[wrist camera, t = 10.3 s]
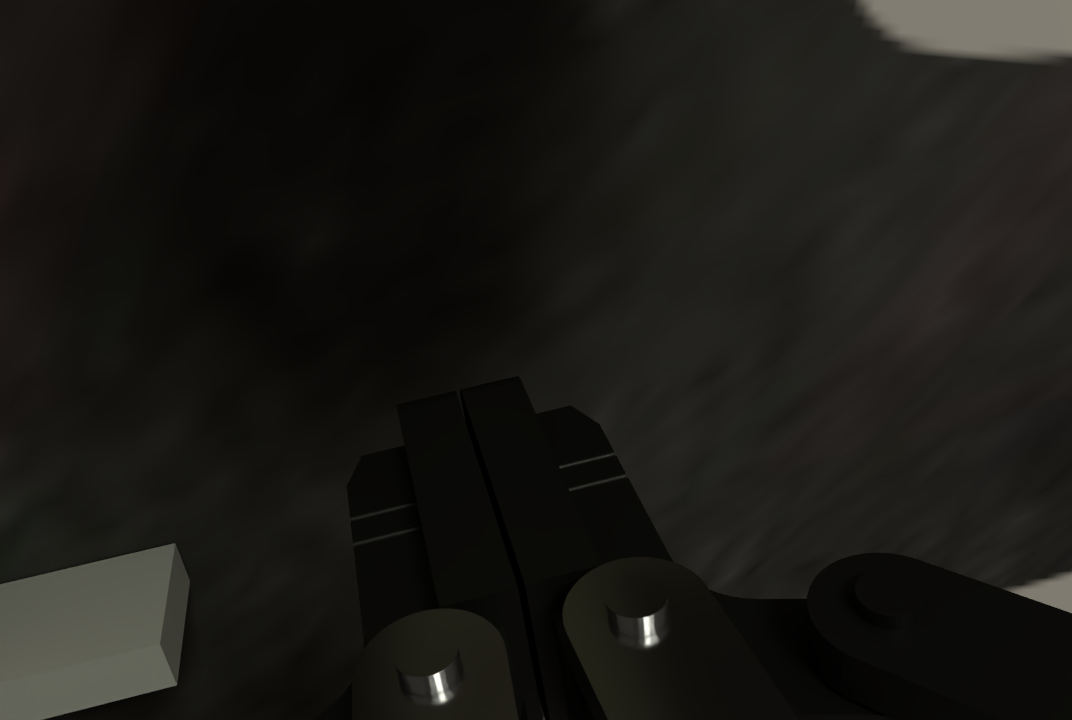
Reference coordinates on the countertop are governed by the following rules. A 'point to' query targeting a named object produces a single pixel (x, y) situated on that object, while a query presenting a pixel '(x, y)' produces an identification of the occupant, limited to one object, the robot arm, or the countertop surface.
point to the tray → (91, 634)
